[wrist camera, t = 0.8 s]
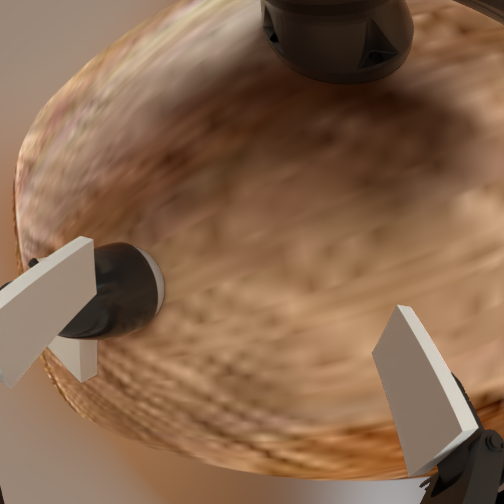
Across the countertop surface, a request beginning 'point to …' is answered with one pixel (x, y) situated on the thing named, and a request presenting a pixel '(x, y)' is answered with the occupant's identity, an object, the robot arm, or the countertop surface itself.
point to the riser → (76, 355)
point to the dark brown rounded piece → (118, 294)
